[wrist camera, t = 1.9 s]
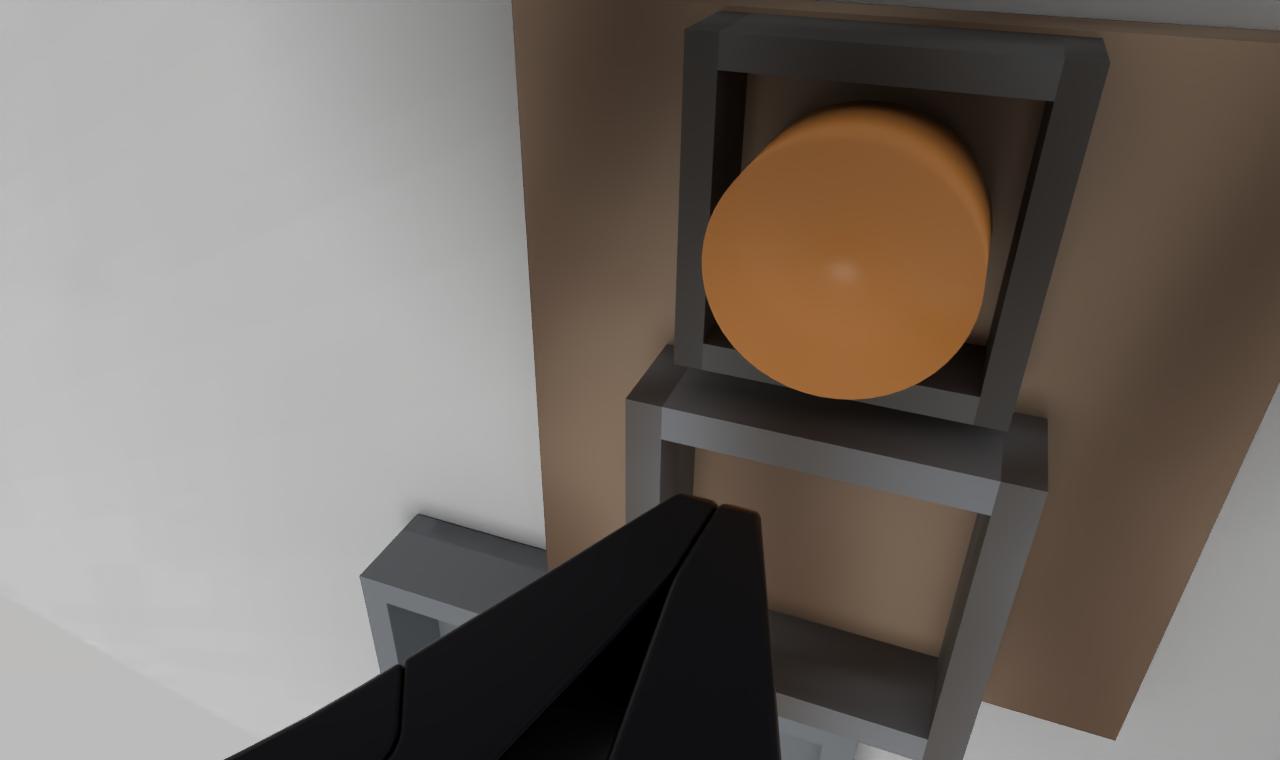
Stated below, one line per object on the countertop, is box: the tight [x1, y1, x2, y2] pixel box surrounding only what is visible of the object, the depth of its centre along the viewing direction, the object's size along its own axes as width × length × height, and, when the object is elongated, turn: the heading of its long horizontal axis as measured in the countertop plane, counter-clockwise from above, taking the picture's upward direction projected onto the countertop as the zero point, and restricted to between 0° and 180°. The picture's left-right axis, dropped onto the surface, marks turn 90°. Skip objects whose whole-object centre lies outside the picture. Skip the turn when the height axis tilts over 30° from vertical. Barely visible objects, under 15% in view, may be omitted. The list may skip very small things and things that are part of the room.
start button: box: [702, 100, 993, 400], centre depth 15 cm, size 4×4×2 cm
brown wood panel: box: [512, 0, 1280, 760], centre depth 19 cm, size 15×16×4 cm
